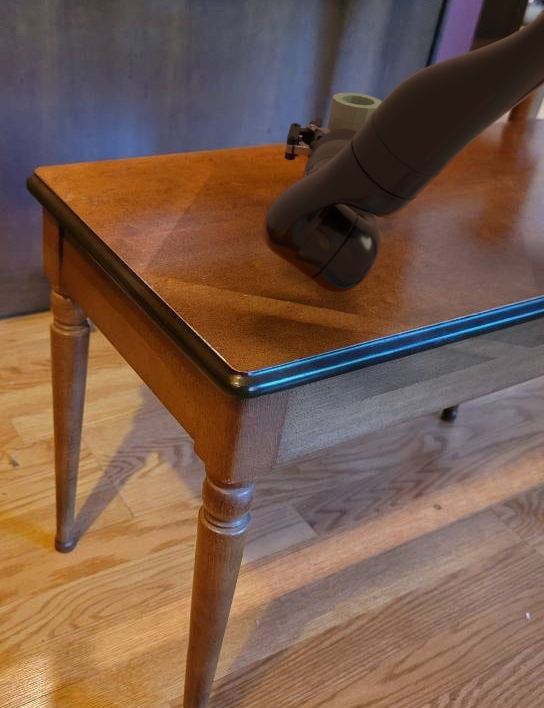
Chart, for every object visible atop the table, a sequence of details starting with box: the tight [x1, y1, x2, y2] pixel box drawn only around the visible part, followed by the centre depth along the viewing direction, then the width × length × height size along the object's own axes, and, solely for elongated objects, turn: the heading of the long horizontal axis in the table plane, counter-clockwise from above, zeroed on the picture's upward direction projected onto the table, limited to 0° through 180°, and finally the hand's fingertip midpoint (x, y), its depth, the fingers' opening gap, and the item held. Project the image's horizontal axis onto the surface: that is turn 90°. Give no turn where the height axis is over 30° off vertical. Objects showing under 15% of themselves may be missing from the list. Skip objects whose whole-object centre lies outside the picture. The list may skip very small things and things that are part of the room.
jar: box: [327, 92, 383, 132], centre depth 94 cm, size 6×6×11 cm
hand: (352, 132), depth 92 cm, fingers open, 8 cm apart
